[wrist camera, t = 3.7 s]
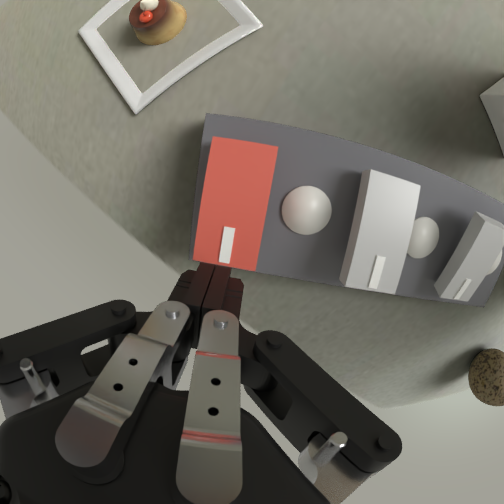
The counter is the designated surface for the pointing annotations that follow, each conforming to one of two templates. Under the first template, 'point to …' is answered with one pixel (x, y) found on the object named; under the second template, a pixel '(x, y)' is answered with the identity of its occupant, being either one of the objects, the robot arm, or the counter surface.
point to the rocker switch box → (347, 207)
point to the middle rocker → (380, 232)
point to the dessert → (159, 41)
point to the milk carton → (495, 108)
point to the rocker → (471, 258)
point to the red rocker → (234, 202)
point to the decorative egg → (488, 377)
